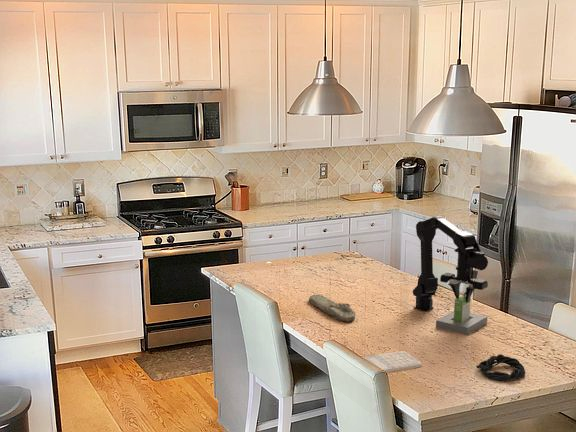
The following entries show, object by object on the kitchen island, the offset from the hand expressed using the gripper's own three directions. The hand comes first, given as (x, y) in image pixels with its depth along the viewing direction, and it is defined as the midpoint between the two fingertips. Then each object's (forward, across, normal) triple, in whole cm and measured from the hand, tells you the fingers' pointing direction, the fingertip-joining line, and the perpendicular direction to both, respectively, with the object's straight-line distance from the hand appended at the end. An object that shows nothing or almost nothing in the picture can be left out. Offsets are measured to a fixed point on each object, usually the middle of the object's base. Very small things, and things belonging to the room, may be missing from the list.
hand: (462, 301), depth 304 cm
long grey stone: (+11, +52, +20) cm, 57 cm away
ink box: (+9, 0, 0) cm, 9 cm away
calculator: (+11, +1, +54) cm, 55 cm away
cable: (+11, -34, +35) cm, 50 cm away
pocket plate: (+10, 0, 0) cm, 10 cm away
